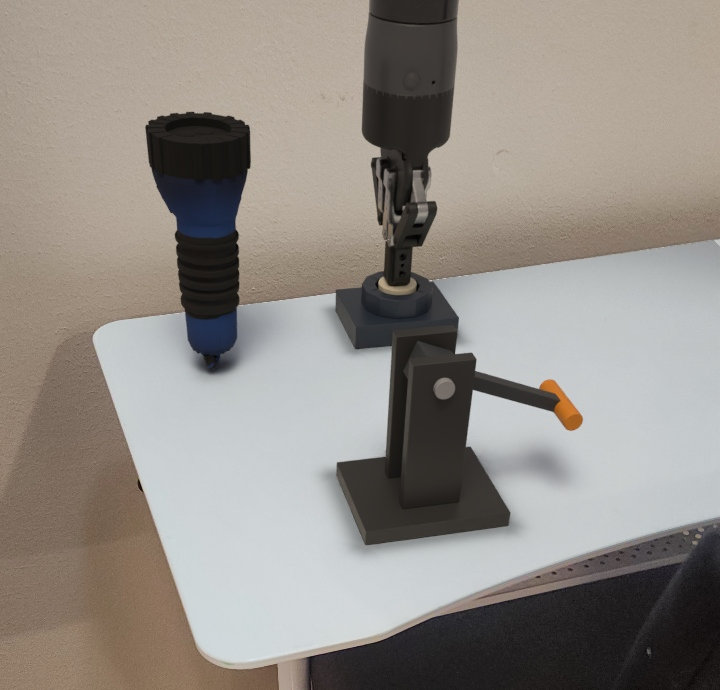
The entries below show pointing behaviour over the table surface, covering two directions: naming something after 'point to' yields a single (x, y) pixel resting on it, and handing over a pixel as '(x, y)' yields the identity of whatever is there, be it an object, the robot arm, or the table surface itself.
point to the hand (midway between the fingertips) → (396, 282)
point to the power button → (397, 287)
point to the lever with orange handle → (514, 389)
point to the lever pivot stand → (424, 451)
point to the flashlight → (203, 217)
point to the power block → (390, 311)
